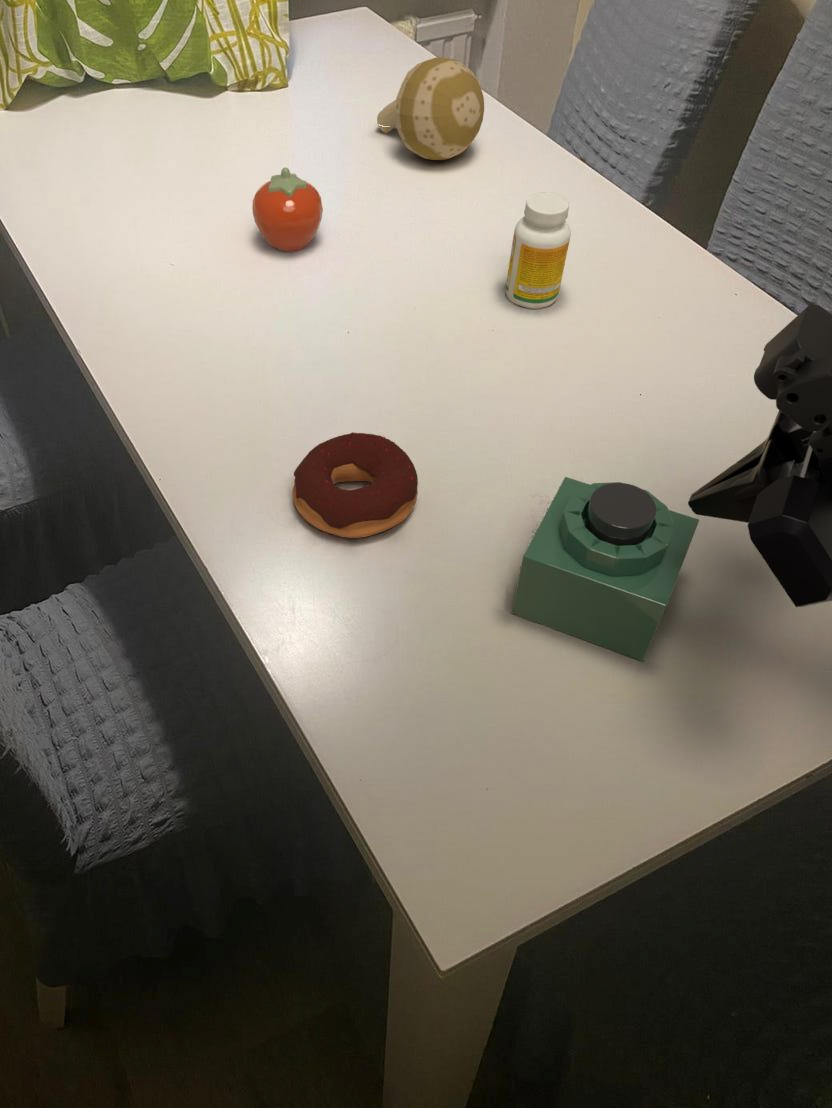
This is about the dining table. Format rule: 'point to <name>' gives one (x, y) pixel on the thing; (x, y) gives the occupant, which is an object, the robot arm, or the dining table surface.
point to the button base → (601, 574)
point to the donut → (361, 506)
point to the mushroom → (436, 109)
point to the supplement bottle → (539, 251)
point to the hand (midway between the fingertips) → (692, 505)
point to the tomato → (287, 211)
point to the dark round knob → (620, 514)
